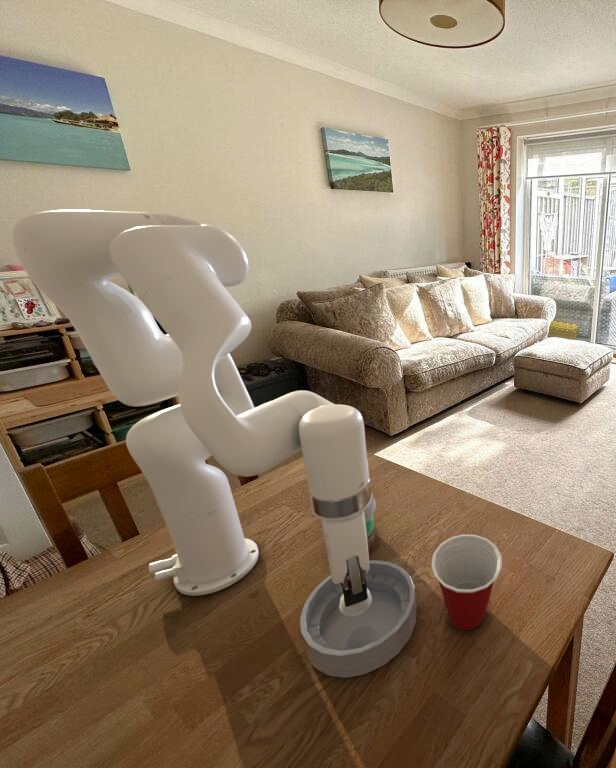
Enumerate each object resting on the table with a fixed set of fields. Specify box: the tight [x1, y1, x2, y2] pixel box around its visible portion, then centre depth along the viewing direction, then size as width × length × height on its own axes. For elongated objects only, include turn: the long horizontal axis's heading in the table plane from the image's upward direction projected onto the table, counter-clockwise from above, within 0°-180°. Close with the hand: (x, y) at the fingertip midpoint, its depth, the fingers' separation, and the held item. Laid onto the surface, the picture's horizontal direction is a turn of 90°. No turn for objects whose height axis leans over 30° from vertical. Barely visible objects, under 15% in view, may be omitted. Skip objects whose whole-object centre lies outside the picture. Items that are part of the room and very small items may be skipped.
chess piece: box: [339, 575, 372, 617], centre depth 61 cm, size 5×5×8 cm
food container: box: [321, 492, 377, 552], centre depth 77 cm, size 12×6×10 cm, turn 168°
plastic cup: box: [431, 533, 503, 631], centre depth 64 cm, size 11×11×12 cm
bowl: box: [299, 559, 417, 679], centre depth 63 cm, size 16×16×5 cm
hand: (354, 591), depth 61 cm, fingers closed on chess piece, 2 cm apart
